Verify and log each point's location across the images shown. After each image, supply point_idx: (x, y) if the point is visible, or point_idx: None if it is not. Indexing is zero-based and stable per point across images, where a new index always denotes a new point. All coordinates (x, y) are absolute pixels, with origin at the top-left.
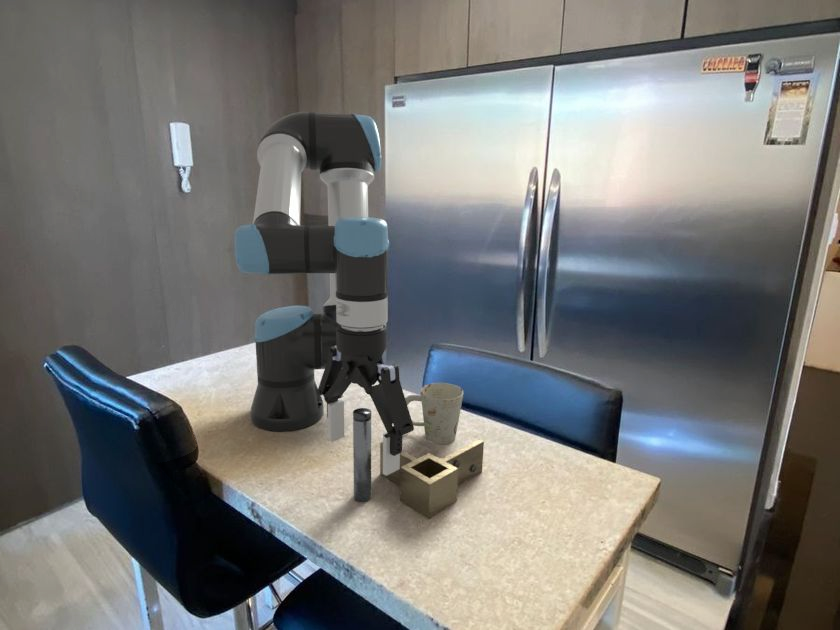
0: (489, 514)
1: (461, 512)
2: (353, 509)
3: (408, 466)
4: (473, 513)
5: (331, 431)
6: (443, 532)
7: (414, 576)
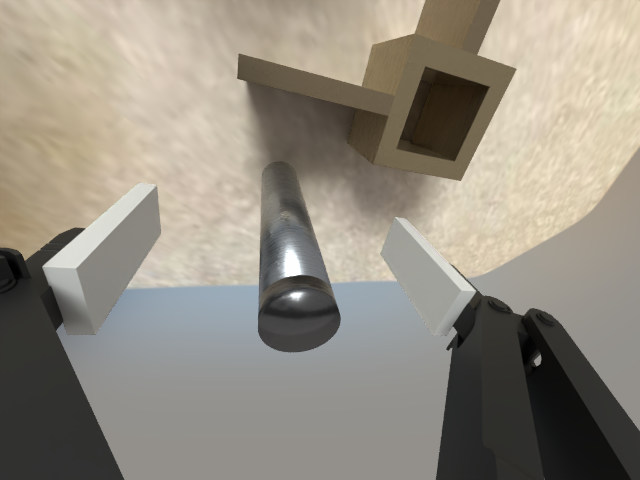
0: (520, 69)
1: None
2: None
3: (389, 148)
4: None
5: (147, 250)
6: None
7: None
